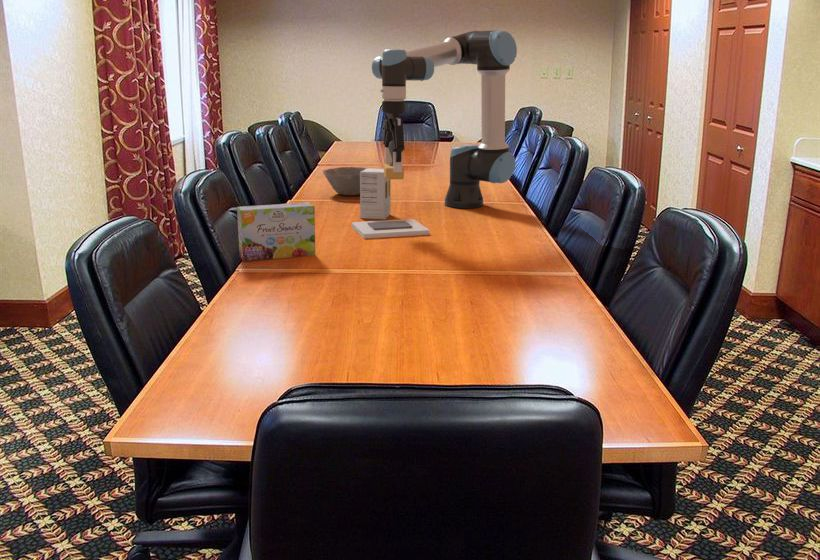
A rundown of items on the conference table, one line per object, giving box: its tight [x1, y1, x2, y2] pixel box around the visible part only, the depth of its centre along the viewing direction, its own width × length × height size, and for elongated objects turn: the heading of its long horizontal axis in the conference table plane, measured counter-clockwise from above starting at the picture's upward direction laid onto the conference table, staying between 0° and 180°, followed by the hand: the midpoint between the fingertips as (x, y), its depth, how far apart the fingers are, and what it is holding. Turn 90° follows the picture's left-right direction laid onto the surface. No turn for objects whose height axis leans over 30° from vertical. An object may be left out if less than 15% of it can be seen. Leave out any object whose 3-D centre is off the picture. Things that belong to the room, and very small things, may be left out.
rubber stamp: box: [383, 140, 405, 180], centre depth 244 cm, size 10×6×12 cm, turn 6°
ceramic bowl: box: [322, 166, 370, 196], centre depth 313 cm, size 22×23×10 cm
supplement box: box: [359, 168, 392, 221], centre depth 269 cm, size 10×9×17 cm
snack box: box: [236, 202, 316, 262], centre depth 215 cm, size 21×6×15 cm, turn 114°
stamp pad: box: [350, 218, 430, 240], centre depth 250 cm, size 22×18×2 cm
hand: (393, 169), depth 245 cm, fingers closed on rubber stamp, 11 cm apart
